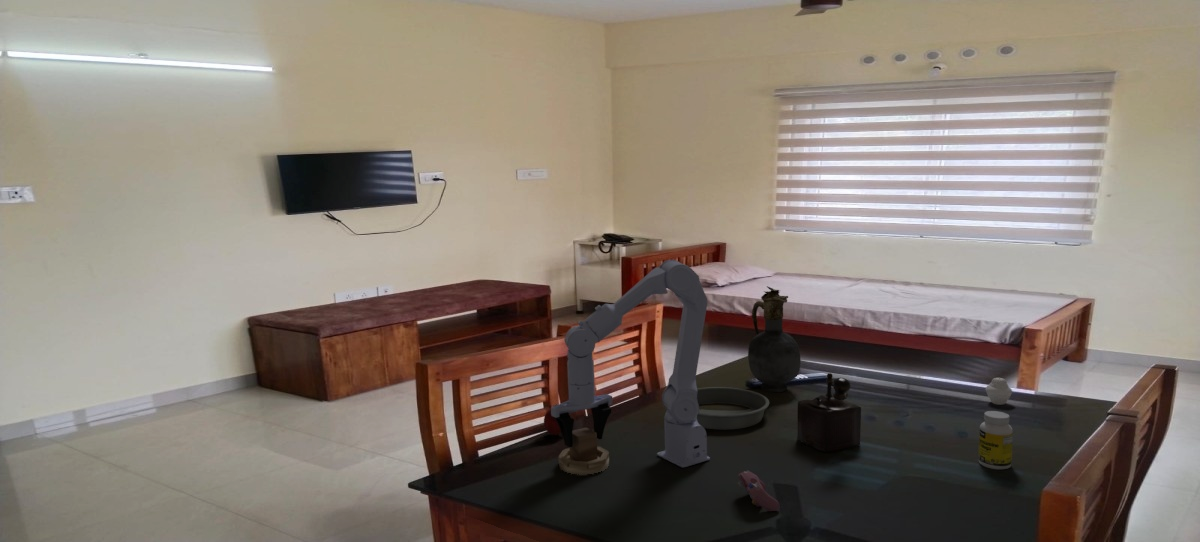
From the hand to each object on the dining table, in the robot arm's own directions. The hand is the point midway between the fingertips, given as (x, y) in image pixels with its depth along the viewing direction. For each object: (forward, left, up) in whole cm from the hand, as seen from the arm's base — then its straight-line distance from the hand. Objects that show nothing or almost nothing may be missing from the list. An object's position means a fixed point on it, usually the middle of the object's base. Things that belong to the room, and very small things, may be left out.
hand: (583, 441), depth 163 cm
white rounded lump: (-30, -110, -6) cm, 114 cm away
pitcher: (+17, -74, -6) cm, 76 cm away
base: (0, 0, -5) cm, 5 cm away
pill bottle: (-52, -70, -6) cm, 87 cm away
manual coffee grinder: (-25, -52, -6) cm, 58 cm away
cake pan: (+7, -46, -6) cm, 47 cm away
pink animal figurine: (-36, -17, -6) cm, 40 cm away
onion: (+20, -4, -6) cm, 21 cm away
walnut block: (0, 0, -4) cm, 4 cm away
